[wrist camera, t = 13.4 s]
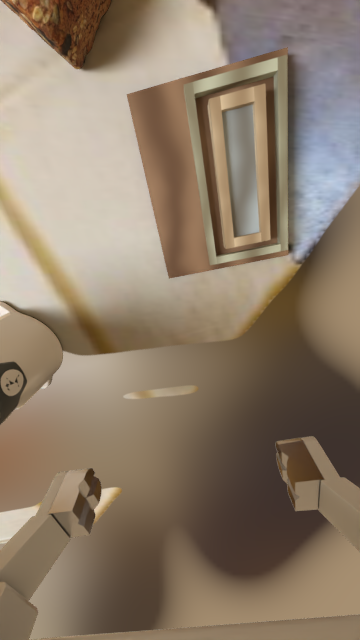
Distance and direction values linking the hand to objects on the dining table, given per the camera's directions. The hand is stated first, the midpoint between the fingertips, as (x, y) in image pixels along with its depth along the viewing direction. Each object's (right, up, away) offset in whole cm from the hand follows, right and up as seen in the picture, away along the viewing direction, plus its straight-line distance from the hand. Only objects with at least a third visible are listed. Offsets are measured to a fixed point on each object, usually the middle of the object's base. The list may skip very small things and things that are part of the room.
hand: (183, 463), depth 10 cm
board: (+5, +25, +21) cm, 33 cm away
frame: (+8, +25, +19) cm, 32 cm away
